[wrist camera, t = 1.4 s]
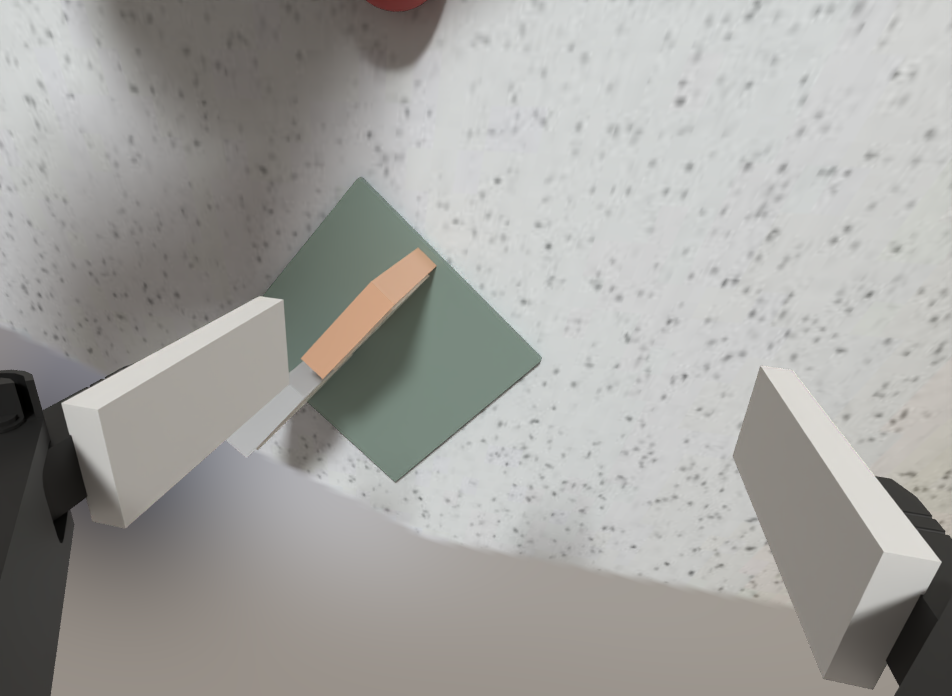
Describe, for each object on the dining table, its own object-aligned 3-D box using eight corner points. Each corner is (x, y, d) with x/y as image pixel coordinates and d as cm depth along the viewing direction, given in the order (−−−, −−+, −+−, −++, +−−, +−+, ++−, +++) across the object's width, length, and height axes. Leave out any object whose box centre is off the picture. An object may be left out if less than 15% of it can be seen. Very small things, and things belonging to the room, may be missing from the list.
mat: (236, 331, 45) (232, 333, 44) (361, 176, 38) (358, 177, 38) (397, 477, 47) (395, 481, 47) (541, 357, 41) (541, 360, 40)
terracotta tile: (358, 311, 41) (300, 358, 33) (418, 247, 39) (370, 281, 30) (377, 329, 42) (324, 380, 34) (438, 267, 39) (396, 306, 31)
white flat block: (292, 382, 45) (225, 440, 37) (342, 328, 42) (282, 378, 34) (310, 398, 45) (248, 459, 37) (361, 345, 42) (306, 399, 34)
